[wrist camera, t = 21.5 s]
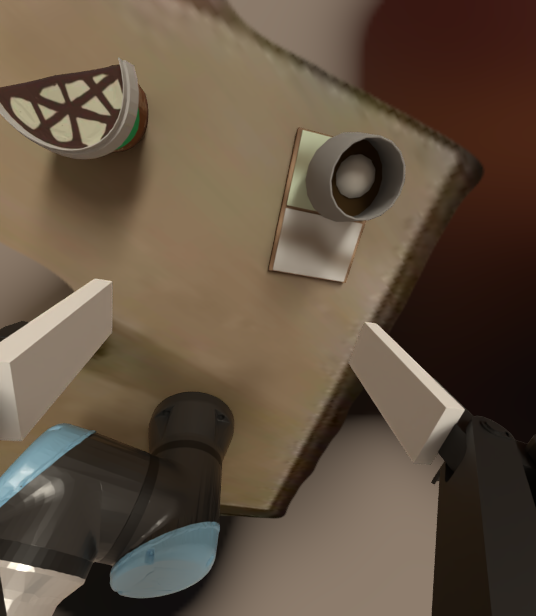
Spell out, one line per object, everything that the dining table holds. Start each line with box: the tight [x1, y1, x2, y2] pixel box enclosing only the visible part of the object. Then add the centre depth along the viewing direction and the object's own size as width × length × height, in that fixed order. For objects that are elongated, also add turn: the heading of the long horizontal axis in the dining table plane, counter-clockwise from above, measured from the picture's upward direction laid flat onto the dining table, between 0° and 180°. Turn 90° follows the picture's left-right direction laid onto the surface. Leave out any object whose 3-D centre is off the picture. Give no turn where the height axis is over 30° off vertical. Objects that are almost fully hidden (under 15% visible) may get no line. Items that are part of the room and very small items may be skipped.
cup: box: [306, 132, 405, 222], centre depth 31 cm, size 10×9×10 cm
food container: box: [0, 58, 148, 159], centre depth 28 cm, size 12×6×10 cm, turn 100°
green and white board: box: [268, 127, 366, 283], centre depth 38 cm, size 18×12×1 cm, turn 169°
